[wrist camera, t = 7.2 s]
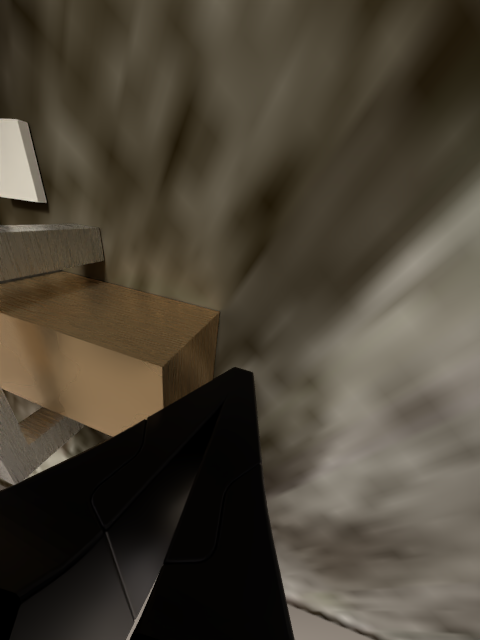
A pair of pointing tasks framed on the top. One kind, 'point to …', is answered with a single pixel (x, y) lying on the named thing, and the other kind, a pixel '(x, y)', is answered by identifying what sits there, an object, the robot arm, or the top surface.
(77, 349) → the banded wooden block
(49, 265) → the collar
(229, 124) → the top surface
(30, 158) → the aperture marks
